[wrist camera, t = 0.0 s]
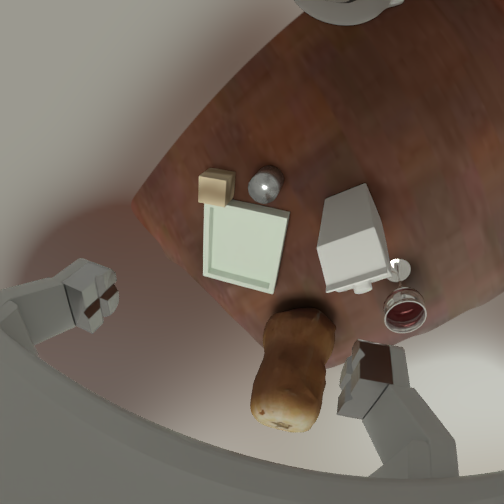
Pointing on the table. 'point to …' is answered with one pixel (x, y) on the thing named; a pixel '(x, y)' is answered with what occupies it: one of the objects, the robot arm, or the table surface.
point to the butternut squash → (293, 369)
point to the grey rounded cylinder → (266, 184)
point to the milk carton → (352, 242)
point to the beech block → (216, 187)
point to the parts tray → (244, 244)
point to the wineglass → (403, 302)
